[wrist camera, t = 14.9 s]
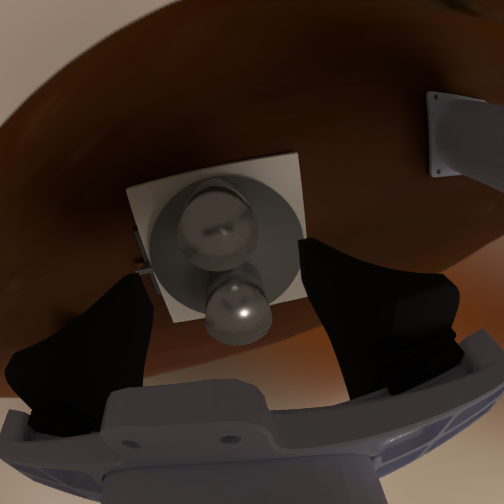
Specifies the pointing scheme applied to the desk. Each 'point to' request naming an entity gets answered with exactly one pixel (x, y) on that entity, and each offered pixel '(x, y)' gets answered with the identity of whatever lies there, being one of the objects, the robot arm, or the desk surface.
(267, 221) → the scale pan
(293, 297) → the scale base
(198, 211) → the cylinder
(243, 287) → the steel spacer
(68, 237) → the desk surface
